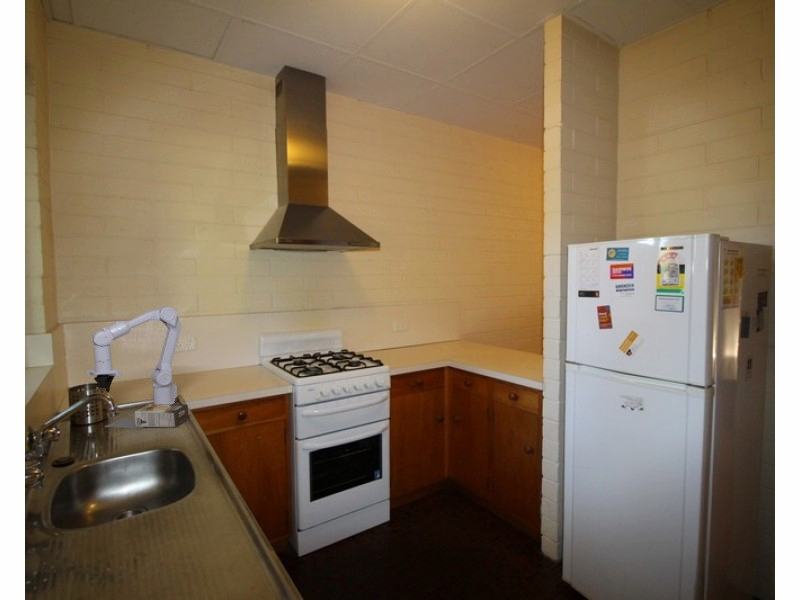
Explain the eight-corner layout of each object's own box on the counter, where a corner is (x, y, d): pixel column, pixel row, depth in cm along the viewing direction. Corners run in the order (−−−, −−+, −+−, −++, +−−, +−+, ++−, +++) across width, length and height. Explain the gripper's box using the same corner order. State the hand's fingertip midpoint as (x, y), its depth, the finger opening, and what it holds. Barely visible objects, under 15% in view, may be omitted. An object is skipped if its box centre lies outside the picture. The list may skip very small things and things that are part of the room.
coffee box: (149, 403, 166) (188, 403, 166) (150, 418, 167) (189, 419, 167) (134, 411, 157) (175, 412, 157) (135, 427, 158) (176, 428, 157)
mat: (123, 418, 169) (123, 417, 169) (158, 420, 166) (158, 419, 166) (104, 427, 160) (104, 426, 160) (140, 429, 157) (140, 428, 157)
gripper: (78, 362, 166) (81, 395, 167) (110, 362, 163) (112, 396, 164) (94, 358, 173) (97, 389, 174) (124, 358, 170) (127, 391, 171)
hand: (105, 392), depth 170 cm, fingers closed
